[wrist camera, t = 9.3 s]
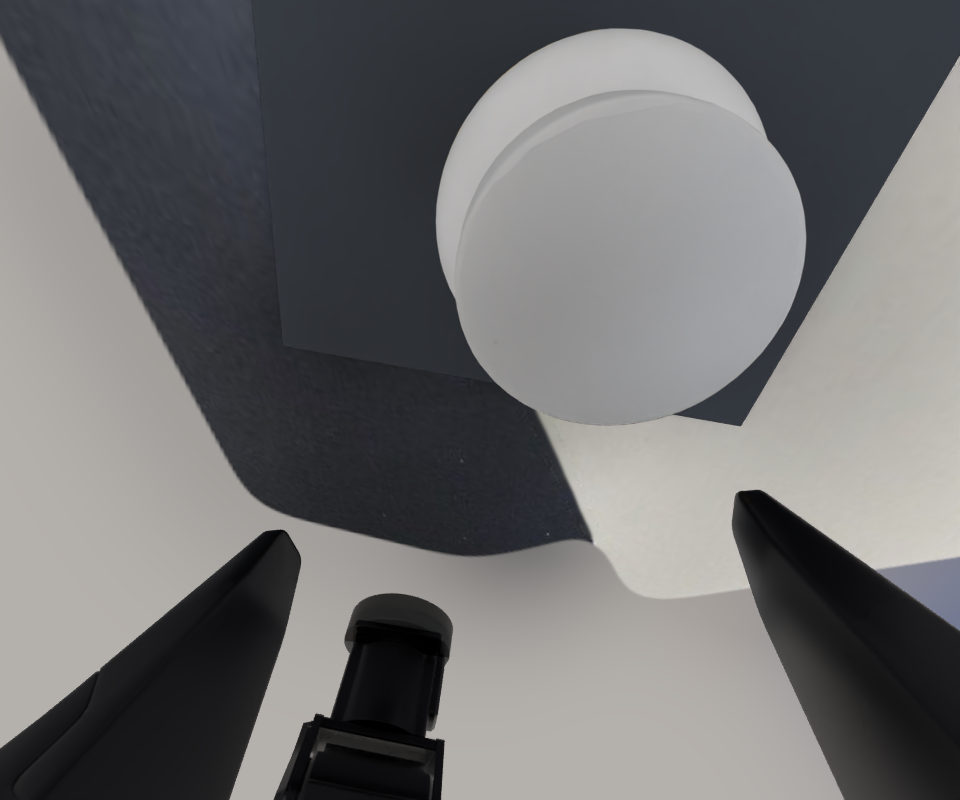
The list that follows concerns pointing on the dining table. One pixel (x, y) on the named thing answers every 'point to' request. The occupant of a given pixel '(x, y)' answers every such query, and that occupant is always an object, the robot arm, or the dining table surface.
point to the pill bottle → (618, 228)
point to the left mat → (465, 79)
